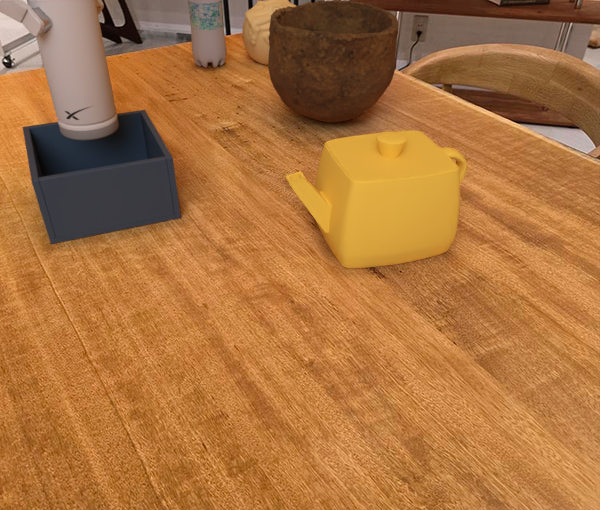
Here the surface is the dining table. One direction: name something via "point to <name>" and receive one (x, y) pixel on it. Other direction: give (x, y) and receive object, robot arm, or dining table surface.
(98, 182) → the box
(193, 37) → the bottle
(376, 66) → the bowl
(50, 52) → the travel mug
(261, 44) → the sculpture
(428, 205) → the teapot
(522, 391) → the dining table surface
